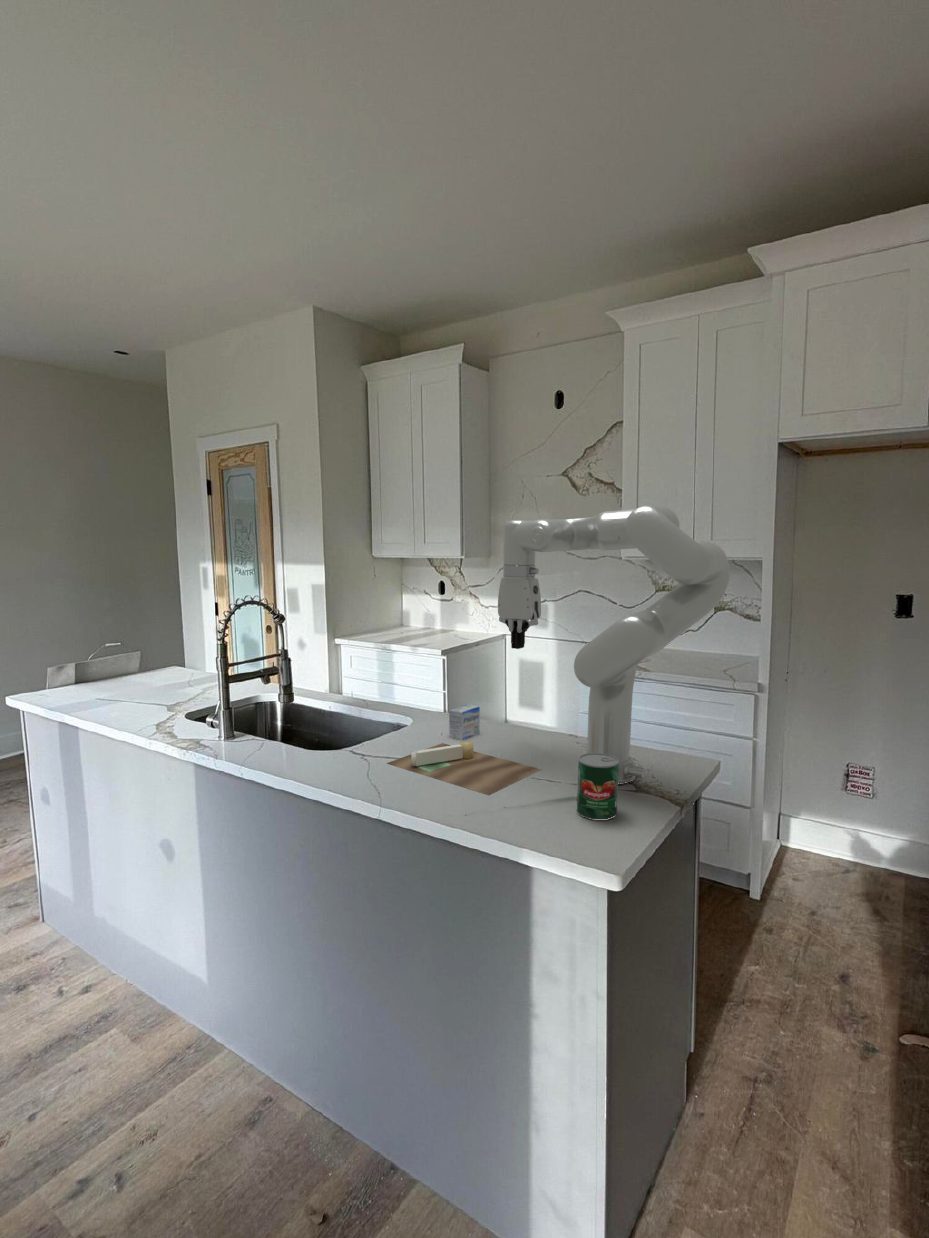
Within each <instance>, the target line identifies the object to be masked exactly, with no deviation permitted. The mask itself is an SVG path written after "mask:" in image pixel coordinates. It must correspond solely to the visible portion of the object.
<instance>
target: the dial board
mask: <svg viewBox="0 0 929 1238" xmlns="http://www.w3.org/2000/svg"><path fill="white" fill-rule="evenodd" d="M445 746H452V745H450V744H447V743H444V742H442V743H438V744H436V745H433V746H431V747H427V748H425V749H424V750H426V749H432V748H439V747H445ZM386 764H387V765H391V766H393V767H397V768H400V769H403V770H406V771H409V772H413V773H416V774H419V775H423V776H425V777H428V778H431V779H435V780H438V781H441V782H445V783H448V784H450V785H453V786H454V785H455V786H458V787H461V788H464V789H467V790H469V791H470V790H471V791H474V792H476V793H477V792H478V793H480V794H483V795H485V796H491V795H492V794H495V793H496V792H499V791H501V790H503V789H505V788H508V787H509V786H512V785H513V784H514V783H517V782H520V781H521V780H523V779H525V778H528V777H531V776H532V775H533V774H535V773H537V772H540V771H542V768H538V767H534V766H530V765H527V764H526V765H525V764H523V763H519V762H515V761H511V760H509V759H505V758H502V757H501V758H500V757H496V756H492V755H488V754H484V753H482V752H477V751H474V750H473V758H469V759H464V758H462V759H456V760H450V761H444V762H438V763H432V764H426V765H420V766H412V765H411V754H408V755H405V756H403V757H400V758H398V759H397V758H396V759H395V760H392V761H389V762H386Z"/></svg>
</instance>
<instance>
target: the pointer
mask: <svg viewBox="0 0 929 1238" xmlns="http://www.w3.org/2000/svg"><path fill="white" fill-rule="evenodd" d="M425 749H426V750H425ZM425 749H420V750H414V751H411V752H410V753H411V754H410V755H411V765H412V766H420V765H426V764H432V763H438V762H444V761H450V760H456V759H462V758H464V759H469V758H473V751H474V742H473V740H460V742H459V744H453V745H452V746H445V747H439V748H432V749H427V748H425Z"/></svg>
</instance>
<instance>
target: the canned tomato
mask: <svg viewBox="0 0 929 1238" xmlns="http://www.w3.org/2000/svg"><path fill="white" fill-rule="evenodd" d="M577 760H578V767H577V769H578V770H577V772H578V773H577V790H576V791H577V794H576V795H577V797H576V798H577V799H576V813H577V812H578V813H579V814H580V815H581V816H584V817H586V818H591V819H608V818H611V817H613V816H615V815H616V813H617V814H618V812H617V810H618V790H619V785H618V771H619V760H618V759H617V758H616V757H614V756H612V755H608V754H602V753H588V754H587V753H584V754H581V755H580V756H579V757H578V759H577ZM578 813H577V814H578ZM580 815H579V816H580ZM581 816H580V817H581ZM586 818H585V819H586Z"/></svg>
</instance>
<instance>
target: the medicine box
mask: <svg viewBox="0 0 929 1238" xmlns="http://www.w3.org/2000/svg"><path fill="white" fill-rule="evenodd" d="M480 708H481V707H480V706H478V705H474V704H465V705H461V706H459V707H456V708H453V709H450V710H449V711H448V712H449V714H448V717H449V719H448V723H449V725H448V728H449V729H448V732H449V733H448V734H449V735H448V737H449V738H451V739H455V740H459V741H465V740H466V739H470V738H471V737H474V736H476V735H479V734H480V725H481V724H480V723H481V722H480V712H481V711H480Z"/></svg>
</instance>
